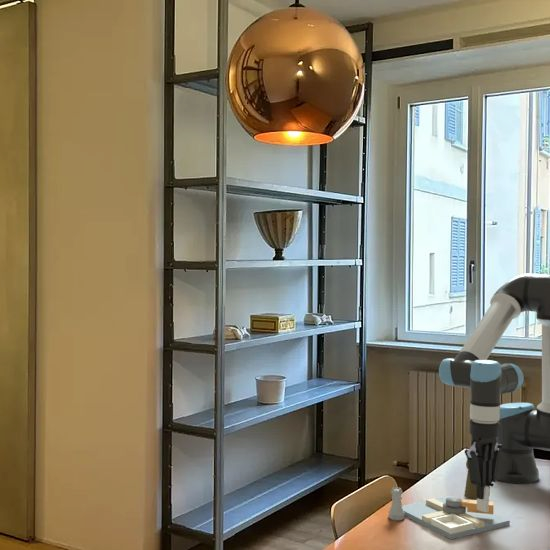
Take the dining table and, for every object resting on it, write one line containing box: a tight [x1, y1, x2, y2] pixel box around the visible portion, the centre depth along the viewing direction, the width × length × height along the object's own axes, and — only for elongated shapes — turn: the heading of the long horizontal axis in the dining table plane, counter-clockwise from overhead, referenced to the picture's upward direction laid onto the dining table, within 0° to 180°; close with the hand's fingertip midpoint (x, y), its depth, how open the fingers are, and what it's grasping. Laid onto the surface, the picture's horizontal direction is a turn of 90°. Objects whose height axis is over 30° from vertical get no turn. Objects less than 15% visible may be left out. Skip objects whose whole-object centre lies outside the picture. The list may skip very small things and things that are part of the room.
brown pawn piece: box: [464, 460, 477, 500], centre depth 212 cm, size 6×6×11 cm
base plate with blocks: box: [402, 495, 510, 540], centre depth 195 cm, size 20×22×4 cm
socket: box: [431, 514, 473, 534], centre depth 185 cm, size 7×7×2 cm
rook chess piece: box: [387, 486, 406, 522], centre depth 194 cm, size 4×4×8 cm
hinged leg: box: [446, 496, 494, 514], centre depth 192 cm, size 12×4×2 cm, turn 74°
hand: (482, 510), depth 189 cm, fingers closed
